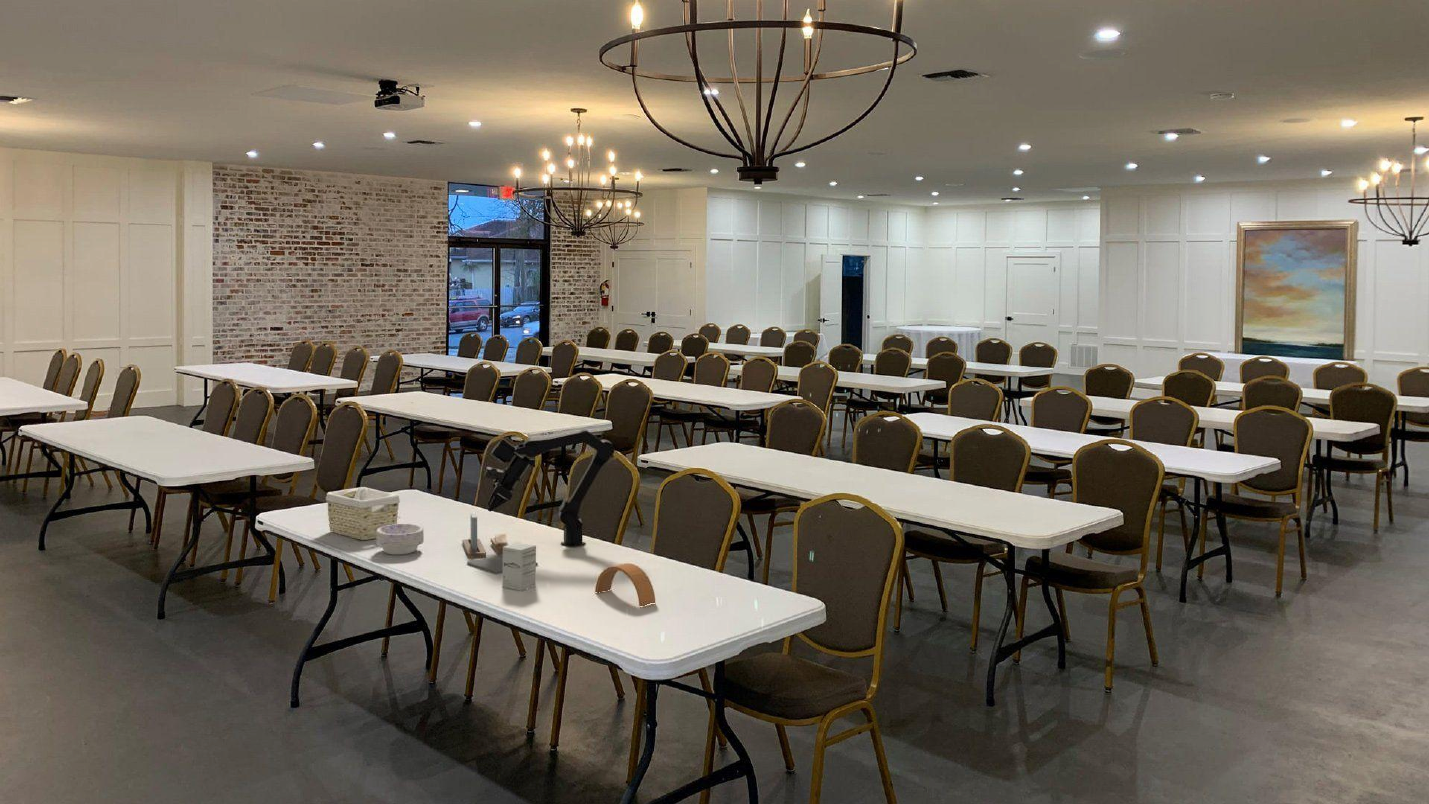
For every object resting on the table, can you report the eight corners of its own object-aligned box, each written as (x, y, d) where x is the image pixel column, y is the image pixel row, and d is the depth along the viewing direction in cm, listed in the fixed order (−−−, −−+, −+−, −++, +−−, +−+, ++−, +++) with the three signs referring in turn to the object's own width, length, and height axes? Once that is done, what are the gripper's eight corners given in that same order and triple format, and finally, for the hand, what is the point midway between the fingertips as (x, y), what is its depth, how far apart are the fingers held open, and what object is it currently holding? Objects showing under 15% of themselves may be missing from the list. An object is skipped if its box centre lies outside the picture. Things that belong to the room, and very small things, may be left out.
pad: (537, 565, 349) (537, 562, 349) (496, 574, 338) (496, 571, 338) (508, 556, 360) (508, 553, 360) (467, 564, 349) (467, 562, 349)
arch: (609, 589, 324) (610, 557, 323) (655, 604, 310) (656, 570, 309) (594, 593, 320) (595, 560, 318) (640, 608, 306) (640, 574, 305)
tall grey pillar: (475, 548, 370) (475, 513, 369) (477, 552, 364) (477, 517, 363) (470, 548, 369) (470, 513, 368) (472, 552, 364) (472, 517, 362)
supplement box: (501, 588, 323) (501, 546, 322) (517, 582, 330) (517, 541, 328) (521, 591, 320) (521, 549, 318) (536, 585, 326) (536, 544, 325)
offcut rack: (504, 541, 380) (504, 532, 380) (512, 555, 361) (512, 545, 361) (462, 543, 375) (462, 534, 375) (468, 558, 356) (468, 548, 356)
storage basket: (324, 531, 390) (323, 491, 388) (364, 524, 402) (364, 485, 400) (361, 543, 374) (360, 501, 373) (402, 535, 387) (401, 494, 385)
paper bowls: (395, 559, 353) (395, 536, 352) (367, 552, 362) (366, 528, 361) (433, 551, 365) (433, 528, 364) (405, 543, 374) (404, 521, 373)
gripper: (495, 453, 378) (469, 490, 377) (495, 462, 359) (468, 500, 359) (521, 471, 380) (495, 507, 380) (523, 480, 362) (496, 518, 362)
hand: (488, 508), depth 370 cm, fingers open, 9 cm apart
